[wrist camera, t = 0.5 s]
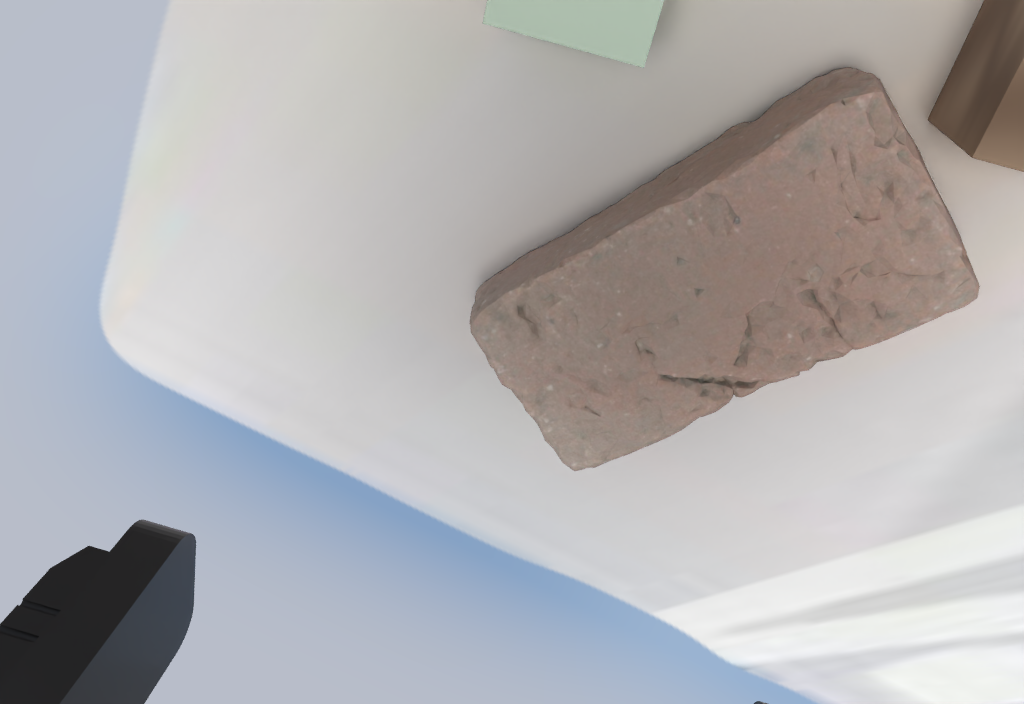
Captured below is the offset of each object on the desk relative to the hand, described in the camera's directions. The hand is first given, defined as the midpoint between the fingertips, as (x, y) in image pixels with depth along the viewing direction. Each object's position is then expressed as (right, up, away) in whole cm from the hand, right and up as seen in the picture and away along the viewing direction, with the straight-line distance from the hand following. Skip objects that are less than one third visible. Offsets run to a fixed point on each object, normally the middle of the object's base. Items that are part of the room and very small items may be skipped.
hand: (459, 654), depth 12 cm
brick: (+8, +8, +22) cm, 24 cm away
